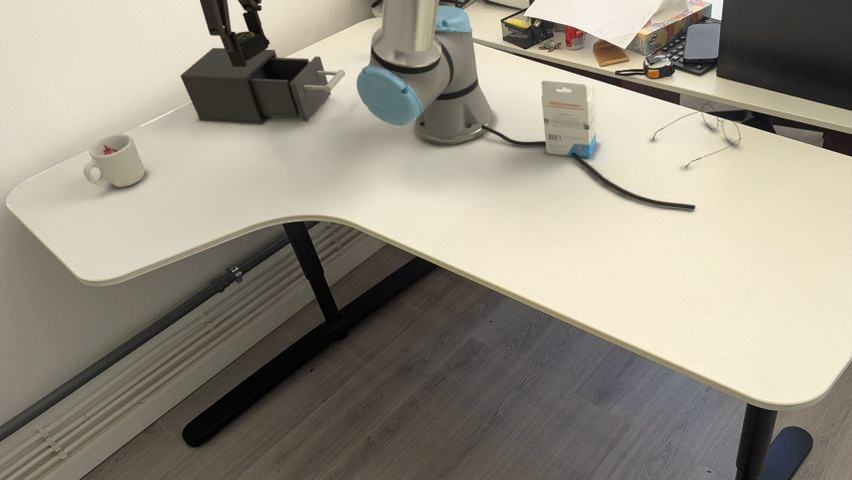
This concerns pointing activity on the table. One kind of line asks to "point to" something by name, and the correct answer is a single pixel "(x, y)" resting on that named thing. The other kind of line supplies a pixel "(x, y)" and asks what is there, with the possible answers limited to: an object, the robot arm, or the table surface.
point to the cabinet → (224, 87)
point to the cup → (115, 161)
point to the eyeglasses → (709, 127)
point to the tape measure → (252, 43)
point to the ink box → (569, 118)
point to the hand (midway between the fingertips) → (250, 55)
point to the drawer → (292, 87)
